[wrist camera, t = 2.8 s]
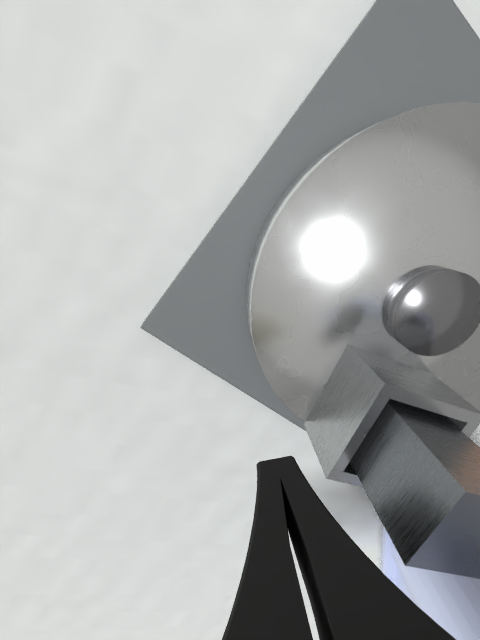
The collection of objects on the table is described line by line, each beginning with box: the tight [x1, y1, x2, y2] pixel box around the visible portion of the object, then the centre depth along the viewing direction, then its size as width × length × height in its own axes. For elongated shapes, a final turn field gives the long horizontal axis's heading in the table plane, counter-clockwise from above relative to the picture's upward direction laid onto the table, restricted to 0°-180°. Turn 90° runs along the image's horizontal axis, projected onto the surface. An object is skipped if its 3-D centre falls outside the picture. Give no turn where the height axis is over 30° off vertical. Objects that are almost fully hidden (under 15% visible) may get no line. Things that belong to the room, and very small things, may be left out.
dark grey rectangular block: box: [350, 399, 480, 579], centre depth 12 cm, size 3×3×6 cm
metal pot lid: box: [246, 102, 480, 487], centre depth 13 cm, size 15×15×5 cm
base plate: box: [141, 0, 480, 431], centre depth 16 cm, size 18×18×1 cm
